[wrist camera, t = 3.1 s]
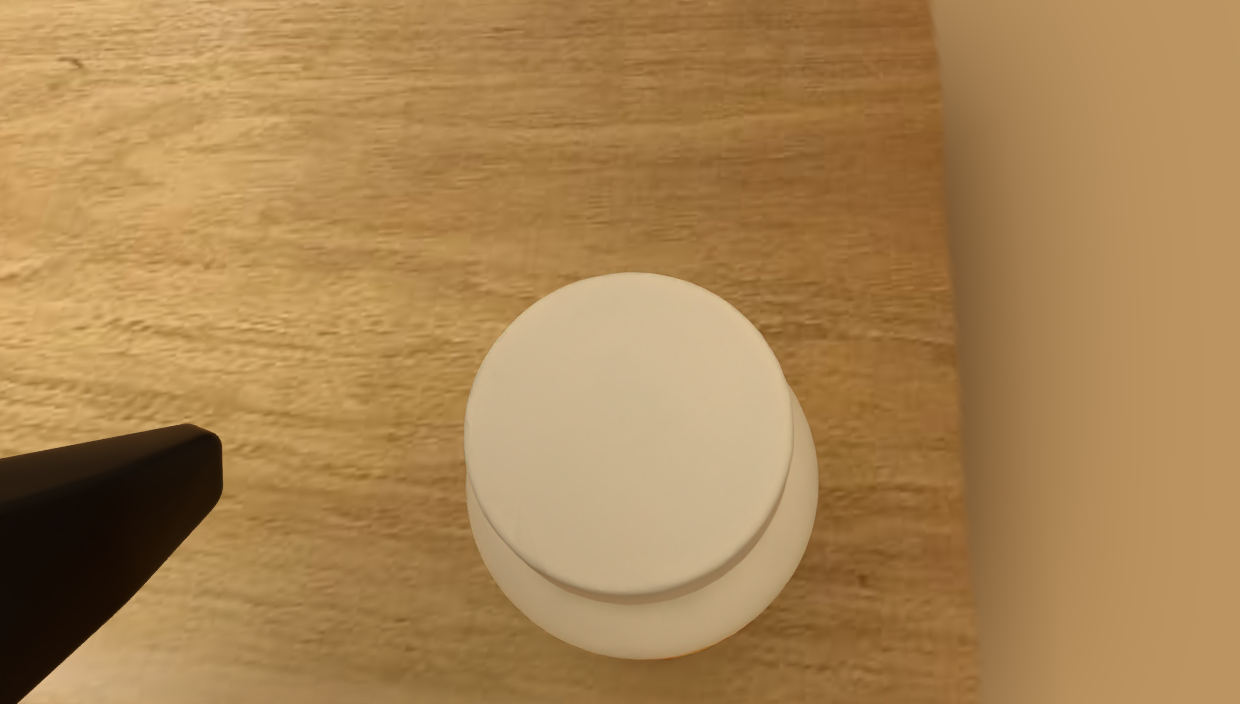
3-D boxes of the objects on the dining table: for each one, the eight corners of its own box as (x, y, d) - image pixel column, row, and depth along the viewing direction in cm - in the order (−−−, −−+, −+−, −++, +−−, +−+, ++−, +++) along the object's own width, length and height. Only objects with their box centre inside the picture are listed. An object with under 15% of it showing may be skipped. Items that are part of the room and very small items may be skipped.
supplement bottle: (500, 587, 19) (313, 517, 10) (610, 385, 20) (536, 162, 11) (716, 709, 17) (730, 758, 8) (817, 483, 19) (922, 320, 10)
